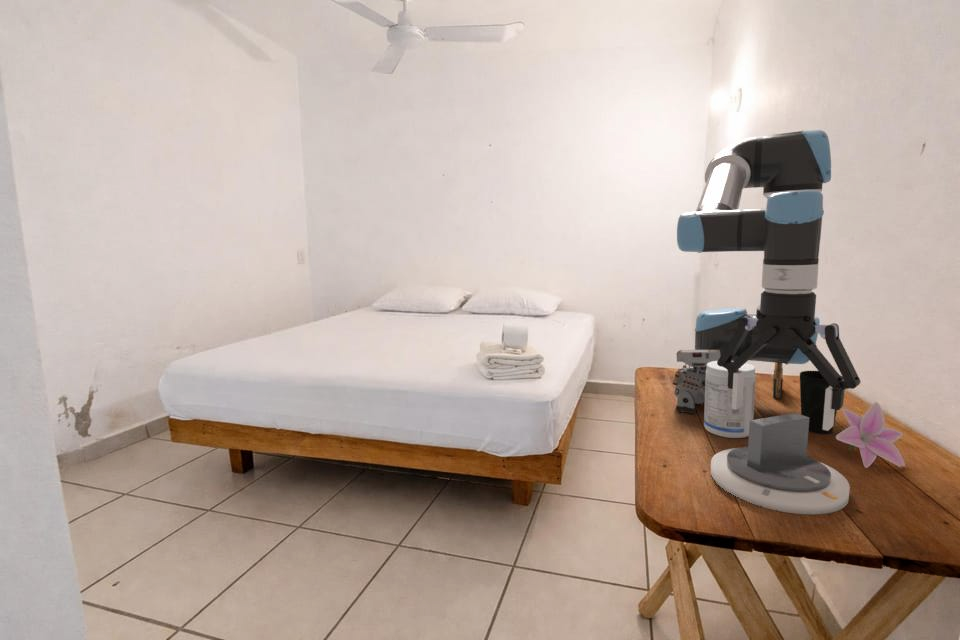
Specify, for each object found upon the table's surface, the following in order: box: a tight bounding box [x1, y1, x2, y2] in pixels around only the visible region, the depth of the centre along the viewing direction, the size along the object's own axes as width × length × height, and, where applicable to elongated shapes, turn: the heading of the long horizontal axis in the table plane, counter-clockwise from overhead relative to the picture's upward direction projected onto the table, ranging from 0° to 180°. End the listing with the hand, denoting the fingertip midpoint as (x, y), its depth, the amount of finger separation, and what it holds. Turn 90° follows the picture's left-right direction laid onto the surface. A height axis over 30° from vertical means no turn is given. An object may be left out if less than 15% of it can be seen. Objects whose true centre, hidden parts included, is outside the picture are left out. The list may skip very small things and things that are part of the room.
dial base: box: [710, 447, 851, 516], centre depth 83 cm, size 20×20×2 cm
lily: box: [835, 401, 906, 469], centre depth 91 cm, size 12×12×10 cm
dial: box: [727, 412, 831, 492], centre depth 82 cm, size 15×15×9 cm
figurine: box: [672, 349, 721, 415], centre depth 119 cm, size 9×12×15 cm
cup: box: [799, 370, 843, 435], centre depth 105 cm, size 8×8×12 cm
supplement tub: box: [703, 361, 757, 439], centre depth 105 cm, size 10×10×15 cm
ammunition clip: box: [772, 363, 784, 400], centre depth 130 cm, size 11×2×12 cm, turn 150°
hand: (779, 417), depth 82 cm, fingers open, 13 cm apart
